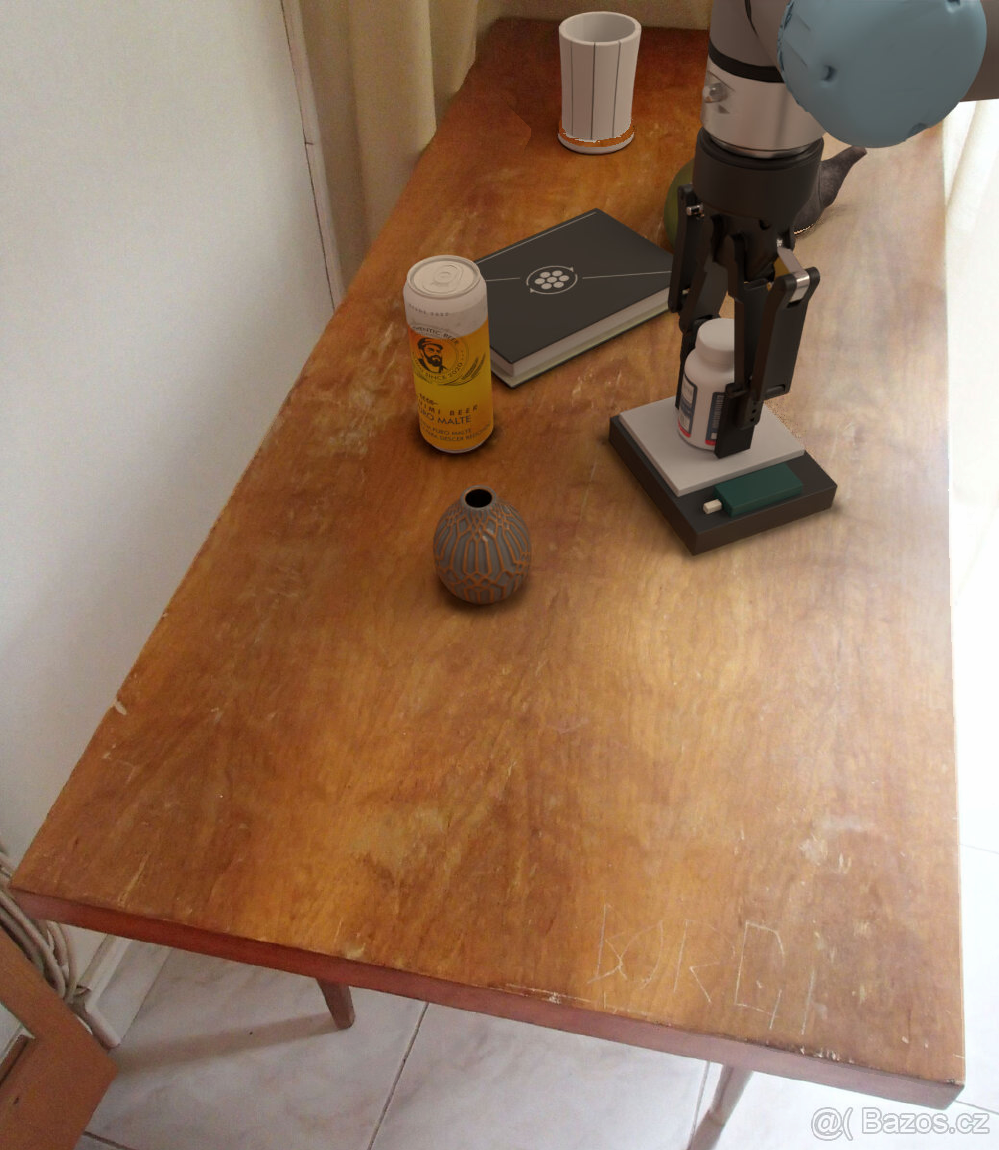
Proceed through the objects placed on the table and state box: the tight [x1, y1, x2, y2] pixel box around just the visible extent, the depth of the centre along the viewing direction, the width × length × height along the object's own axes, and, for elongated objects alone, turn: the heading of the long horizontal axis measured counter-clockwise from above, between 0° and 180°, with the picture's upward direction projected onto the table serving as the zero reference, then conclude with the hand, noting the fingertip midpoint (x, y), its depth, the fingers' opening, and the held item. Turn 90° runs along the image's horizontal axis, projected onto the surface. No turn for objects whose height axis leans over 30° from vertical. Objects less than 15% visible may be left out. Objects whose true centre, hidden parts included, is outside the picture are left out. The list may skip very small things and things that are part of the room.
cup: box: [557, 11, 642, 155], centre depth 111 cm, size 10×9×12 cm
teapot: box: [794, 145, 868, 236], centre depth 101 cm, size 19×15×10 cm
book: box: [471, 207, 689, 389], centre depth 93 cm, size 22×15×3 cm
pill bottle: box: [678, 317, 734, 450], centre depth 73 cm, size 5×5×9 cm
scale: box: [608, 395, 839, 556], centre depth 77 cm, size 14×12×3 cm
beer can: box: [402, 254, 494, 454], centre depth 77 cm, size 6×6×15 cm
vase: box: [432, 484, 533, 605], centre depth 69 cm, size 7×7×9 cm
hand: (711, 426), depth 77 cm, fingers closed on pill bottle, 5 cm apart
